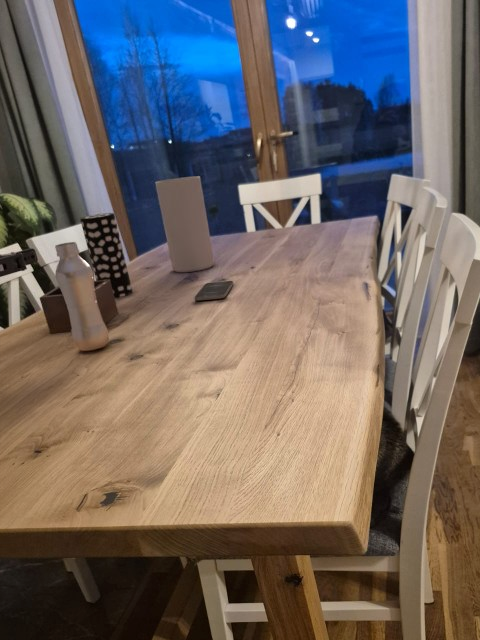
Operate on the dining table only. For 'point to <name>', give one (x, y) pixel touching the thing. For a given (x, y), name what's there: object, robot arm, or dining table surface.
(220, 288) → the smartphone
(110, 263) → the white-spotted black cylinder
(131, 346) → the dining table surface
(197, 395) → the dining table surface
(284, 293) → the dining table surface
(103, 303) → the holder
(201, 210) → the cylinder vase
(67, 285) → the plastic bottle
